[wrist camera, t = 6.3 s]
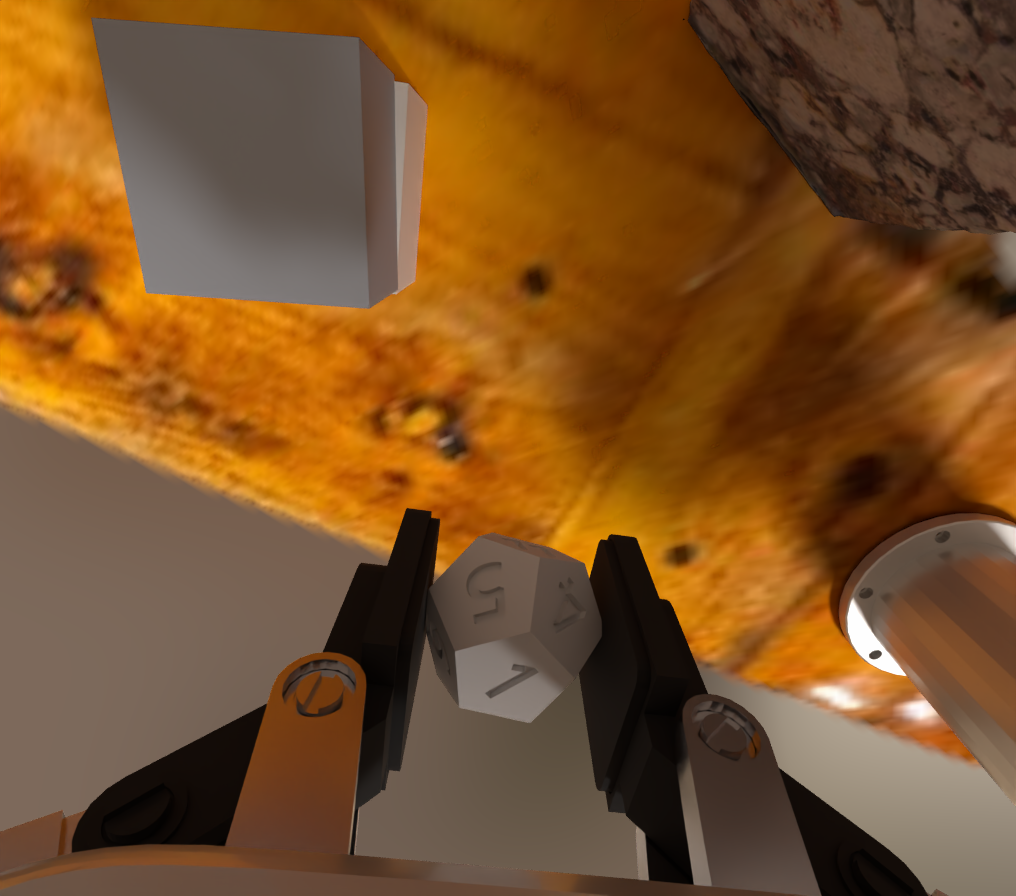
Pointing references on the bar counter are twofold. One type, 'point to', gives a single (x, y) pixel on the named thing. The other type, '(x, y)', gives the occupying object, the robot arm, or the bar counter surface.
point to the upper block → (255, 161)
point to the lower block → (408, 177)
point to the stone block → (882, 101)
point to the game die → (511, 626)
